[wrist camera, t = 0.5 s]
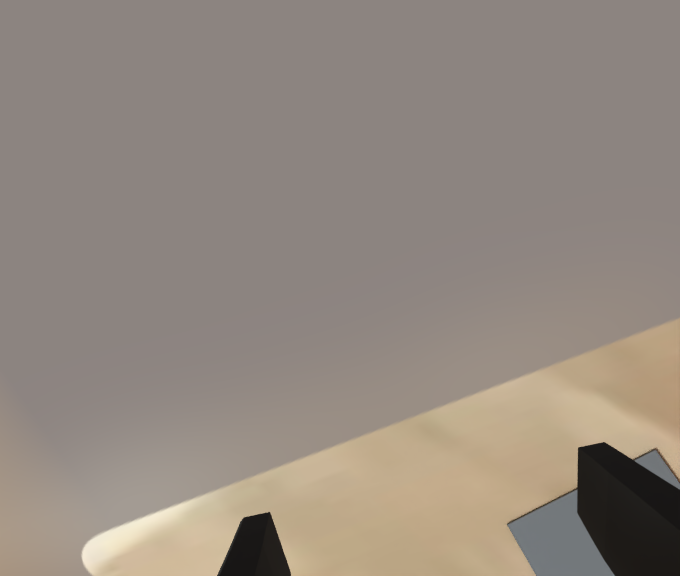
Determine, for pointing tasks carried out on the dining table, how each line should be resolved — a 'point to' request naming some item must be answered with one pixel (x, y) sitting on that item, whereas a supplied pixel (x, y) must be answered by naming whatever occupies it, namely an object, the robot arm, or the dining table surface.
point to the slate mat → (569, 532)
